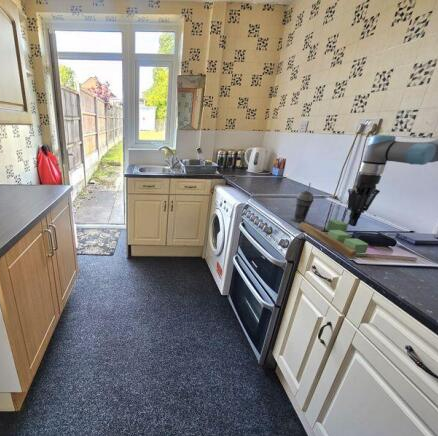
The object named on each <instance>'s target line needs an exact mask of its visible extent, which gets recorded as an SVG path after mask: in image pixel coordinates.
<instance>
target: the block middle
mask: <svg viewBox="0 0 438 436" xmlns="http://www.w3.org/2000/svg"><path fill="white" fill-rule="evenodd" d="M327 232H328V233H327V235H329V236H331V237H332V238H334V239H336V240H338V241H340V242H341V243H343V244H344V241H345V239H350V237H351V234H349V233H347V232H346V233H345V232H343V231H341V230H329V231H327Z"/></svg>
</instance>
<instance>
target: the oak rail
mask: <svg viewBox="0 0 438 436" xmlns="http://www.w3.org/2000/svg"><path fill="white" fill-rule="evenodd" d="M299 229H300V230H301V231H303V232H305V233H307V234H309V235H310V236H311V237H313V238H314V239H317V240H318V241H320V242H321V243H323V244H324V245H326V246H328V247H329V248H331V249H333V250H335V252H338V253H340V254H341V255H343V256H344V257H346V258H348V259H351V260H352V259H355V258H356V257H357V256H356V253H357V251H356V250H354V249H352V248H350V247H349V246H347V245H345V244H343V243H341V242H340V241H338V240H336V239H334V238H332V237H331V236H329V235H328V233H325V232H323V231H321V230H320V229H318V228H316V227H314V226H312V225H311V224H310V223H307V222H305V221H304V222H301V223H300V225H299Z"/></svg>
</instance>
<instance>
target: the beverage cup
mask: <svg viewBox="0 0 438 436" xmlns="http://www.w3.org/2000/svg"><path fill="white" fill-rule="evenodd" d="M311 184H312V183H311V182H309V184H308V187H307V190H303V191H301V192H299V193H298V194H297V196H296V198H295V199H296V201H295V202H296V203H295V209H294V216H293V217H294V218H293V221H294V222H296V223H300V224H301V222H305V220H306V219H307V216H308V214H309V211H310V208H311V205H312V204H313V202H314V194H313V193H312V192H311V191H310V187H311Z"/></svg>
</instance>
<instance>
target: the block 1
mask: <svg viewBox="0 0 438 436" xmlns="http://www.w3.org/2000/svg"><path fill="white" fill-rule="evenodd" d="M348 227H349V224H348V222H344V221H342V220H340V219H329V220H328V223H327V226H326V231H327V232H329V230H341V231H343V232H345V233H347V231H348Z"/></svg>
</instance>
